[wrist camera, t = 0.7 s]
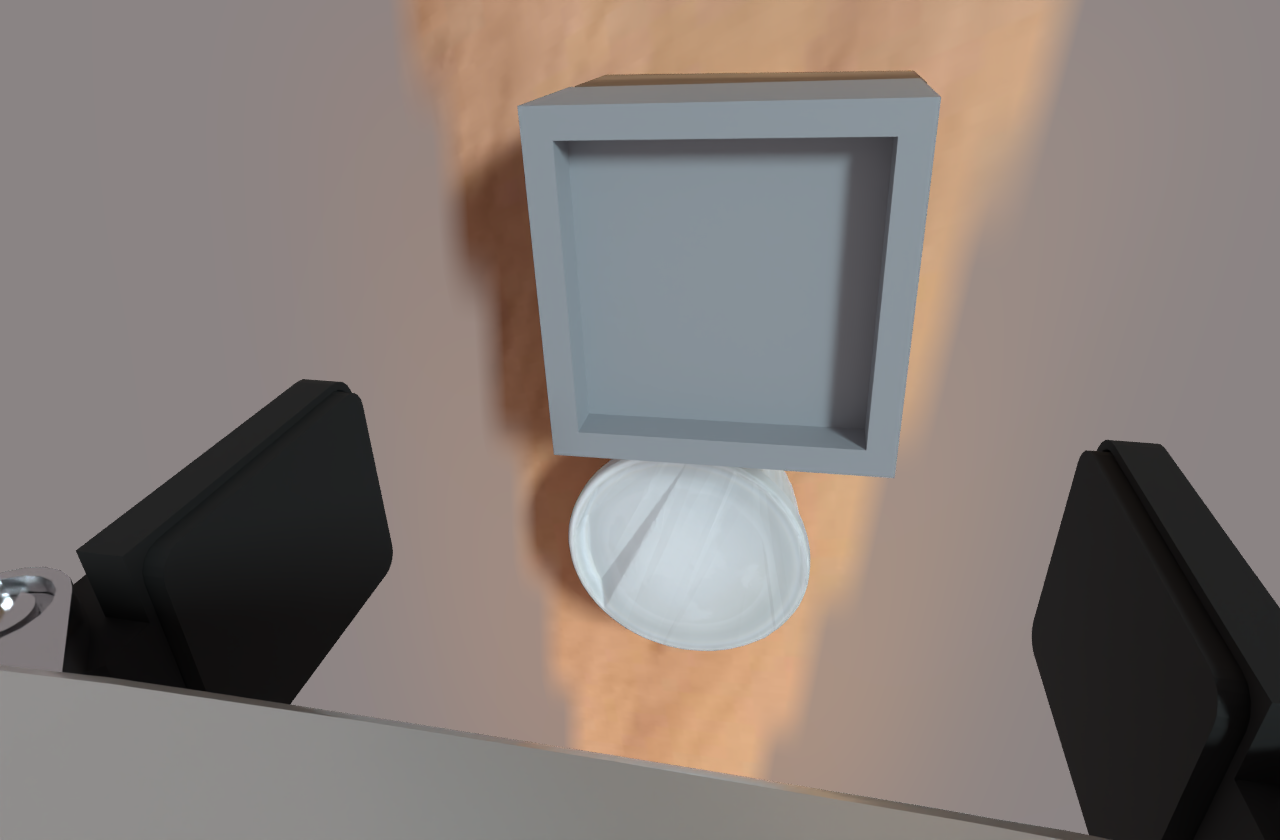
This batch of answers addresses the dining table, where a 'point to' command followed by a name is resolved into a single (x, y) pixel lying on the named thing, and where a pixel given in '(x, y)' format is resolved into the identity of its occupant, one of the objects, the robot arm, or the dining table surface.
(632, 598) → the ramekin
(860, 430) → the tower top block
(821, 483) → the dining table surface
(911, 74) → the tower bottom block
